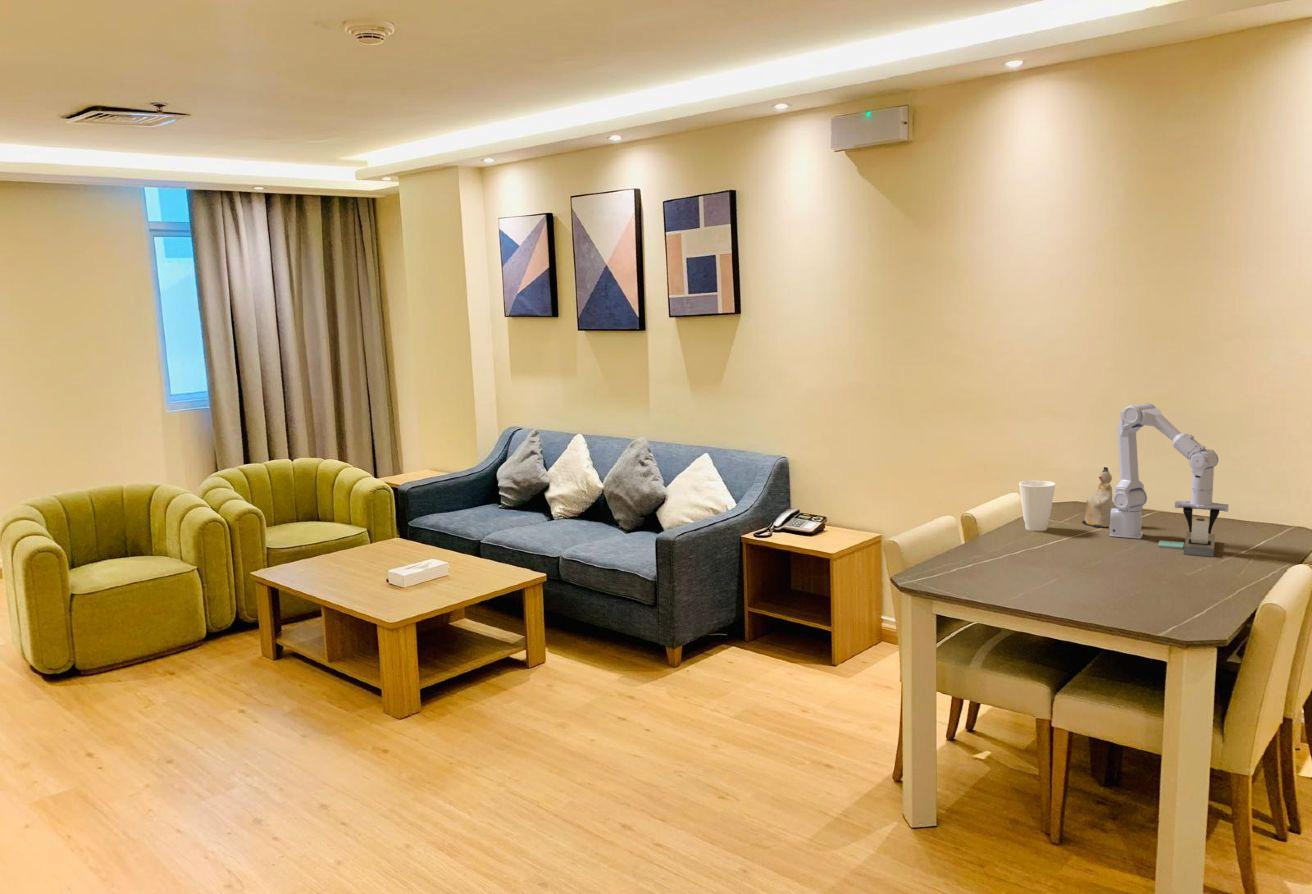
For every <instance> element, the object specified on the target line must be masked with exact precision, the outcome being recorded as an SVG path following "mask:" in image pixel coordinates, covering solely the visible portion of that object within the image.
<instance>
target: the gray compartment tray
mask: <svg viewBox="0 0 1312 894" xmlns="http://www.w3.org/2000/svg"><path fill="white" fill-rule="evenodd" d="M1191 534H1192V532H1189V531H1187V532H1186V536H1185V540H1184V547H1183V555H1188V556H1200V557H1210V558H1211V557H1212V558H1215V557H1214V556H1215V545H1216V533H1215V534H1214V533H1211V534H1208V544H1201V543H1191Z"/></svg>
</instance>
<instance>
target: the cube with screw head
mask: <svg viewBox="0 0 1312 894" xmlns="http://www.w3.org/2000/svg"><path fill="white" fill-rule="evenodd" d="M1209 521H1210V518H1206V517H1192V534H1191V543H1201V544H1208V529H1209Z"/></svg>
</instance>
